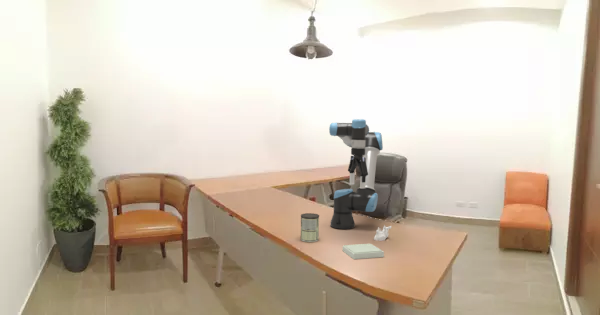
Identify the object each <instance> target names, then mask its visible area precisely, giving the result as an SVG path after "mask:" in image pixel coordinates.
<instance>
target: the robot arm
mask: <svg viewBox="0 0 600 315" xmlns="http://www.w3.org/2000/svg"><path fill="white" fill-rule="evenodd" d="M328 129H329V135H330V136H331V137H332V136H333V137H339V139H340V140H342V142H343V144H344V145H345V146H347V147H349V148H351V150H350V154H351V155H350V160H349V164H348V169H347V171H348V173H349V186H354V185H355V182H356V181H355V179H356V169H357V167H358V170H359V173H360V176H359V177H360V178H359V179H360V180H359V181H360V182H359V183H360V185H359V187H357V189H356V191H354V190H353V188H344V189H338V190H334V194H333V214H332V218H331V219H330V227H332V228H334V229H340V230H341V229H342V230H350V229H354V228H355V224H356V223H355V219H354V217H353V212H354V211H355V212H363V211H364V212H363V213H371V212H374V211H375V210H376V209H377V205H378V199H379V194H378V193H377V190H376V189H375V179H376V178H375V177H376V168H377V161H378V160H377V159H378V155H379V154H380V152H381V151H382V150H383V138H382V137H383V136H382V133H381V132H378V131H377V132H376V131H373V132H371V131H370V127H369V125H368V124H367V120H366V119H363V118H360V119H357V118H356V119H355V118H353V119H352V122H332V123H330V124H329V128H328Z"/></svg>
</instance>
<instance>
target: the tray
mask: <svg viewBox="0 0 600 315" xmlns="http://www.w3.org/2000/svg"><path fill="white" fill-rule="evenodd" d="M342 252H344V253H345V254H346V255H347V256H349V257H350V258H351V259H353V260H361V259H377V258H384V257H385V252H384V250H382V249H381V248H379V247H378V246H376V245H374V244H372V243H360V244H359V243H356V244H347V245H346V244H344V245H342Z"/></svg>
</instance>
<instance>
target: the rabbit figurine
mask: <svg viewBox="0 0 600 315" xmlns="http://www.w3.org/2000/svg"><path fill="white" fill-rule="evenodd" d="M391 229H392V225H390V226H386V225H385V224H383V228H380V227H379V226H378V227H377V229H376V230H375V232H376V233H375V235H374V237H373V240H374V241H378V242H379V241H380V242H381V241H383V242H384V241H386V239H387V238H388V237H389V230H391Z"/></svg>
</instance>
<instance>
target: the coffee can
mask: <svg viewBox="0 0 600 315" xmlns="http://www.w3.org/2000/svg"><path fill="white" fill-rule="evenodd" d="M319 223H320V214H318V213H314V212H313V213H312V212H311V213H310V212H309V213H307V212H306V213H302V214H301V215H300V241H302V242H304V243H315V242H318V241H319V225H320V224H319Z"/></svg>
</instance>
